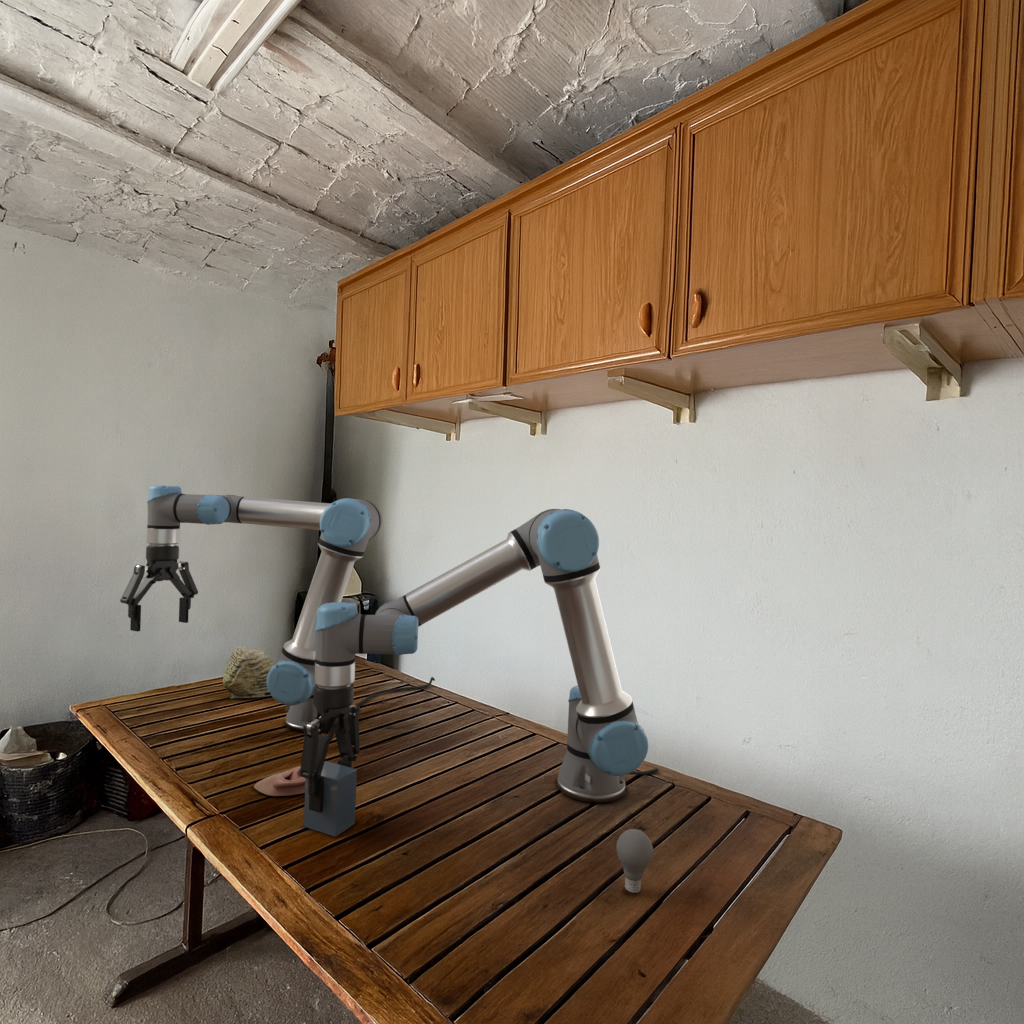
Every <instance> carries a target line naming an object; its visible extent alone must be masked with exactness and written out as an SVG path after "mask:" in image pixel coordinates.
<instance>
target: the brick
mask: <svg viewBox="0 0 1024 1024" xmlns="http://www.w3.org/2000/svg"><path fill="white" fill-rule="evenodd" d="M315 771H316V770H315ZM321 776H323V777H324V795H323V812H321V813H319V812H315V811H312V810H309V794H308V781H309V780H308V778H306V780H305V793H304V806H303V807H304V809H303V811H304V814H303V827H304V828H306V829H310V830H313V831H316V832H319V833H322V834H325V835H328V836H331V837H334V838H337V837H338V836H339V835H341V834H342V833H344V832H345V831H347V830H348V829H350V828H351V827H352V826H354V825H355V823H356V803H357V779H358V778H357V777H358V769H357V768H355V767H351V768H350V767H346V766H343V765H339V764H337V763H334V762H332V761H327V760H325V762H324V766H323V770H322V774H321Z"/></svg>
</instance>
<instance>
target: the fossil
mask: <svg viewBox="0 0 1024 1024" xmlns="http://www.w3.org/2000/svg"><path fill="white" fill-rule="evenodd" d="M275 664H276V663H275V662H274V660H273V659H272V658H271V657H270V656H269V655H268V654H267V653H266V652H265V650H264V649H263V648H260V647H258V648H251V647H247V646H246V647H245V646H238V647H237V648H236V649H235V650H233V651H232V653H231V656H230V657H229V659H228V660H227V663H226V666H225V668H224V671H223V675H222V676H223V677H222V685H223V687H224V688H225V690H226V691H228V693H229V698H230V699H250V698H264V697H272V696H271V694H270V692H269V691H268V688H267V676H268V673H269V671H270V670H271V668H272V667H273V666H274V665H275Z"/></svg>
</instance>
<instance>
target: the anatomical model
mask: <svg viewBox="0 0 1024 1024" xmlns="http://www.w3.org/2000/svg"><path fill="white" fill-rule="evenodd" d="M300 769H301V765H299V766H297V767H294V768H291V769H288V770H286V771H283V772H278V773H275V774H272V775H269V776H267V777H265V778H263V779H260V780H259V781H257V782H256V783H255V784H254V785H253V788H254V789H255V790H256V791H257V792H259V793H261V794H264V795H266V796H268V797H269V796H270V797H284V796H295V795H301V794H305V780H306V778H304V777H301V776H300Z"/></svg>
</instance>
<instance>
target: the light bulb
mask: <svg viewBox="0 0 1024 1024" xmlns="http://www.w3.org/2000/svg"><path fill="white" fill-rule="evenodd" d="M615 849H616V854H617V857H618V859H619V861H620V863H621V865H622V867H623V873H624V874H623V875H624V876H625V878H624V888H625V890H627V891H628V892H630V893H634V894H635V893H639V892H640V891H641V889H642V887H641V886H642V879H643V877H644V875H645V871H646V868H647V867H648V866H649V864H650V863H651V861H652V859H653V855H654V847H653V843H652V841H651V838H649V836H648V835H647V834H646V833H645V832H643V831H642V830H641V829H636V828H629V829H627V830H625V831H623V832H622V833H621V834H620V835H619V837H618V839H617V841H616V847H615Z"/></svg>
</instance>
